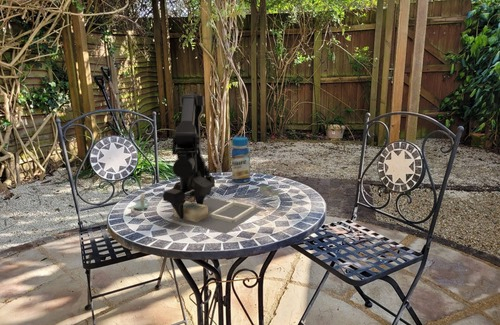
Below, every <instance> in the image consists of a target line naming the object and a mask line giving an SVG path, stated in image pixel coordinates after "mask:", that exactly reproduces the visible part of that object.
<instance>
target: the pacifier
mask: <svg viewBox="0 0 500 325" xmlns="http://www.w3.org/2000/svg"><path fill="white" fill-rule="evenodd" d="M149 206H150V202H149V201H148V200H146V195H145V193H144V192H141V193H140V199H139V201H138V202H137V203H136V204H135V205H134V206H133V207H131V209H130V211H131V212H132V213H135V212H138V211H141V210H145V209H148V207H149Z"/></svg>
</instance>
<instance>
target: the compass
mask: <svg viewBox="0 0 500 325" xmlns="http://www.w3.org/2000/svg"><path fill="white" fill-rule="evenodd" d="M178 184H180V181H177V182H176V183H174V185H173V188H172V189H176V190H181V188H178ZM185 200H186V201H188V202H193V203H194V202H196V199H195V196H191V195H187V196H186V195H185Z"/></svg>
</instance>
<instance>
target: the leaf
mask: <svg viewBox="0 0 500 325" xmlns="http://www.w3.org/2000/svg"><path fill="white" fill-rule="evenodd" d="M259 191H260V193H261V195H262V197H267V198H268V199H269V198H270V195H271V196H278V195H279V192H278V191H277V190H272V188H271V187H270V186H266V185H265V186H263V185H261V186H260V187H259Z"/></svg>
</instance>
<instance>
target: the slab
mask: <svg viewBox="0 0 500 325" xmlns="http://www.w3.org/2000/svg"><path fill="white" fill-rule="evenodd" d="M172 209H173V210H172V211H173V215H174V216H175V217H179V215H178V214H177V212H176V210H175V209H174V207H173V206H172ZM183 210H184V216H183V219H186V220H190V221H194V222H198V221H200V220H202V219H204V218H205V217H207V216H208V206H206V205H201V204H197V203H196V202H194V201H193V202H188V201H186V202H185V203H184V204H183ZM179 218H180V217H179Z"/></svg>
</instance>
